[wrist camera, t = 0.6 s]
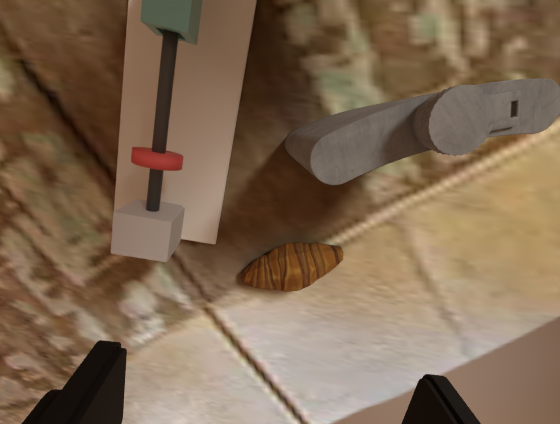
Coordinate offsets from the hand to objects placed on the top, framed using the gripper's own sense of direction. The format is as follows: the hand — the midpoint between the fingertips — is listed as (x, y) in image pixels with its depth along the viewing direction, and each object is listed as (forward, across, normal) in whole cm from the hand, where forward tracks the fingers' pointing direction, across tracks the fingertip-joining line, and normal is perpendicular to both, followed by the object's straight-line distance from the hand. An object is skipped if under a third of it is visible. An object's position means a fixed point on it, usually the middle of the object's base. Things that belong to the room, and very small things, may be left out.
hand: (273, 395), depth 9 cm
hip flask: (+28, -9, -10) cm, 31 cm away
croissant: (+28, -5, +8) cm, 30 cm away
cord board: (+28, +10, -8) cm, 31 cm away
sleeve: (+23, +10, -16) cm, 30 cm away
